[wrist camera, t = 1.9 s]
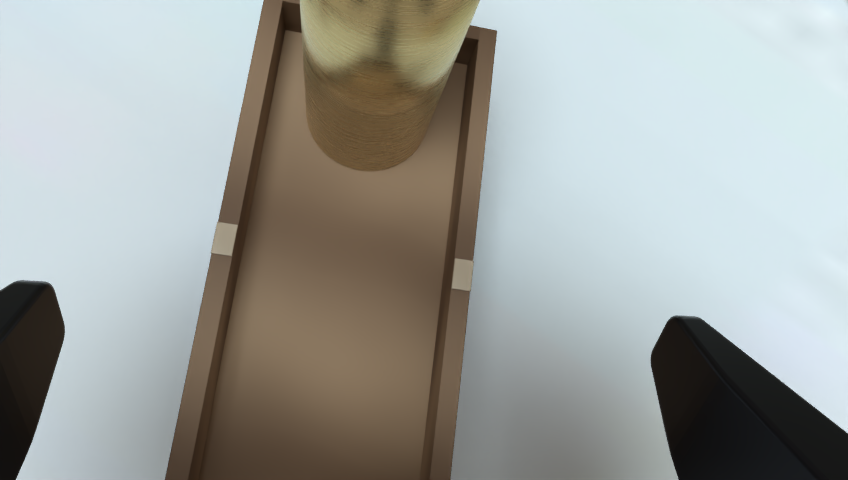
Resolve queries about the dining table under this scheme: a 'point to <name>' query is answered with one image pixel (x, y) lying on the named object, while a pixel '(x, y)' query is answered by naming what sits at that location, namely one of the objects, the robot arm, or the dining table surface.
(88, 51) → the dining table surface
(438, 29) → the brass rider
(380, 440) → the brown wooden tray
